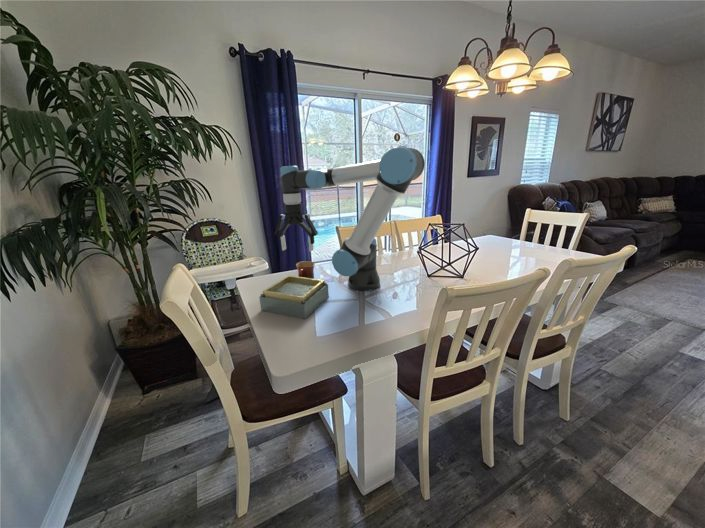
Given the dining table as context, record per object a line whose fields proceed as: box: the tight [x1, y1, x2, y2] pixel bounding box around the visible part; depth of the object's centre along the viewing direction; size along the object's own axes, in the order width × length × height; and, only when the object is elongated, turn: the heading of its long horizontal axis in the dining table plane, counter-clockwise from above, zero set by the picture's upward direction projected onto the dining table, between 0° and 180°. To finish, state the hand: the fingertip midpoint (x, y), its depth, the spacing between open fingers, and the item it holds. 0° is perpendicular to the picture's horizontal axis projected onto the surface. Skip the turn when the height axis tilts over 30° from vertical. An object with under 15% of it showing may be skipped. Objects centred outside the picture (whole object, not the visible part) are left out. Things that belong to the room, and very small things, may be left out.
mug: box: [295, 260, 316, 279], centre depth 135 cm, size 12×9×10 cm
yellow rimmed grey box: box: [258, 275, 329, 320], centre depth 118 cm, size 23×20×9 cm
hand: (297, 250), depth 132 cm, fingers open, 13 cm apart
